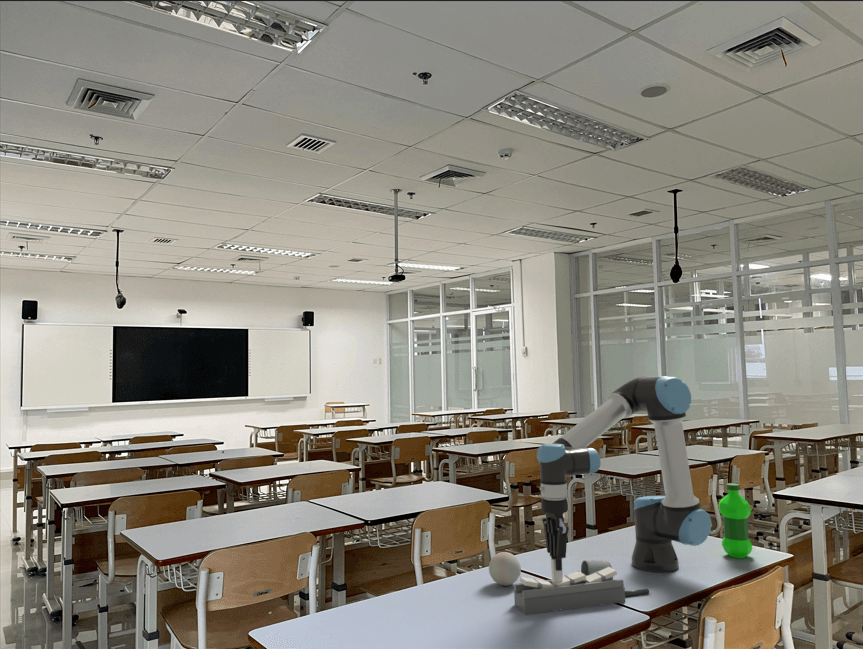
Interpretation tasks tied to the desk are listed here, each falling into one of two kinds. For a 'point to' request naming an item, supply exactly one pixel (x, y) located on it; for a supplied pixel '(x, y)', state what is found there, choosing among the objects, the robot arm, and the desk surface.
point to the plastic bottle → (735, 523)
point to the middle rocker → (570, 579)
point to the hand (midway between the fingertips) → (557, 580)
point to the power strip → (571, 595)
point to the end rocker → (535, 583)
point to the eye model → (504, 568)
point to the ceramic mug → (593, 566)
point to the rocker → (601, 575)
